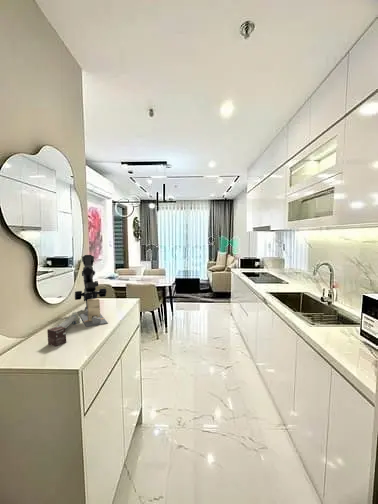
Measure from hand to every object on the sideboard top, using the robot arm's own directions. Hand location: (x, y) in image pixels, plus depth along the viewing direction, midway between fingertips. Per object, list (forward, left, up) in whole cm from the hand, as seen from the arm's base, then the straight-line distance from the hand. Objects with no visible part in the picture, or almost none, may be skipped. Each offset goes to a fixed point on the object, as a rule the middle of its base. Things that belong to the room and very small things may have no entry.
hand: (92, 305), depth 181 cm
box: (+33, -22, -9) cm, 41 cm away
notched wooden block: (+3, 0, -9) cm, 10 cm away
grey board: (-2, 0, -9) cm, 9 cm away
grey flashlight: (+8, -15, -10) cm, 20 cm away
